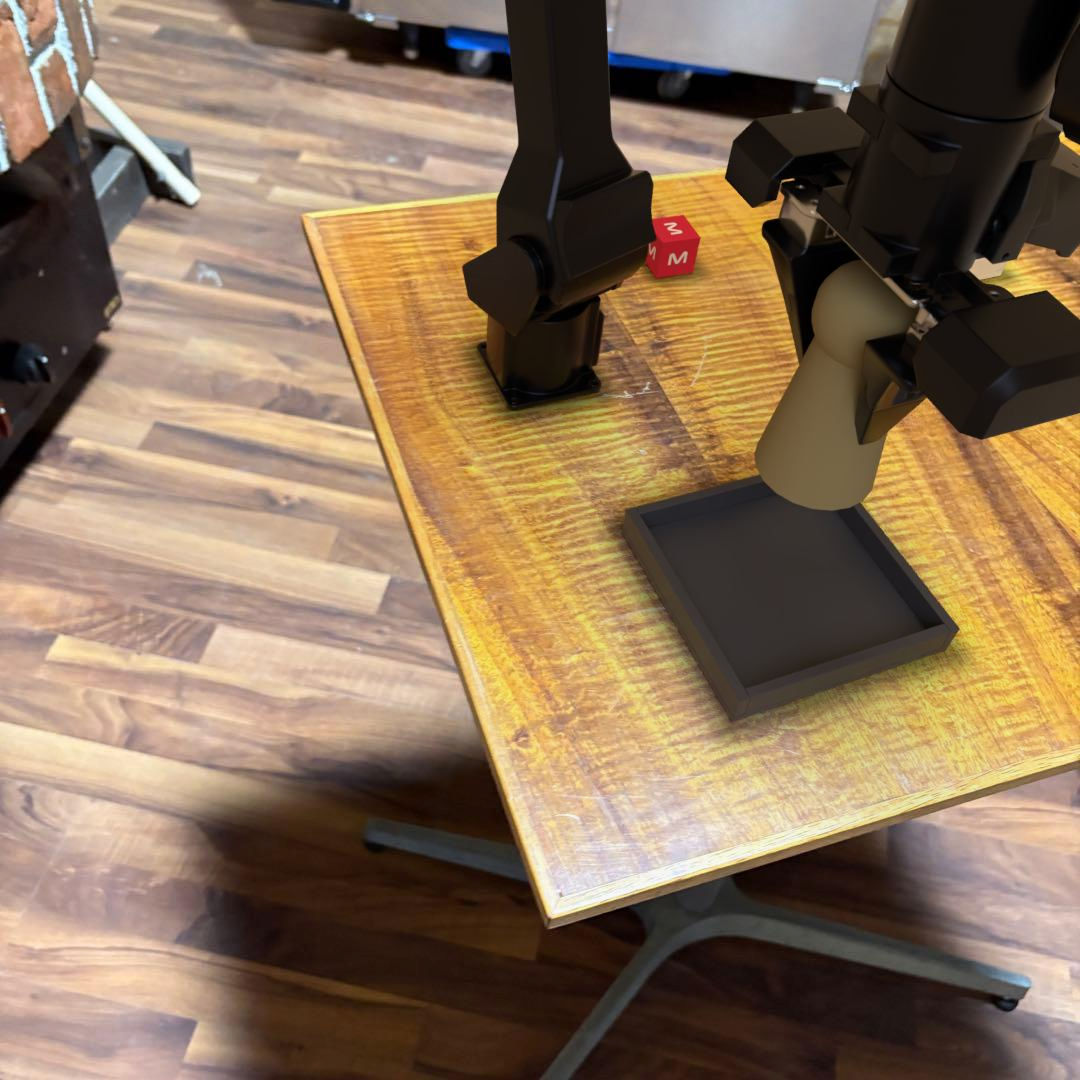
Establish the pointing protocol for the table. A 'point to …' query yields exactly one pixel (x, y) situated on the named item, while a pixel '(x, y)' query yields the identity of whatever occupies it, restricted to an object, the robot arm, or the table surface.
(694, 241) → the red letter m cube
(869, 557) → the dark tray
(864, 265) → the tan game pawn
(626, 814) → the table surface
